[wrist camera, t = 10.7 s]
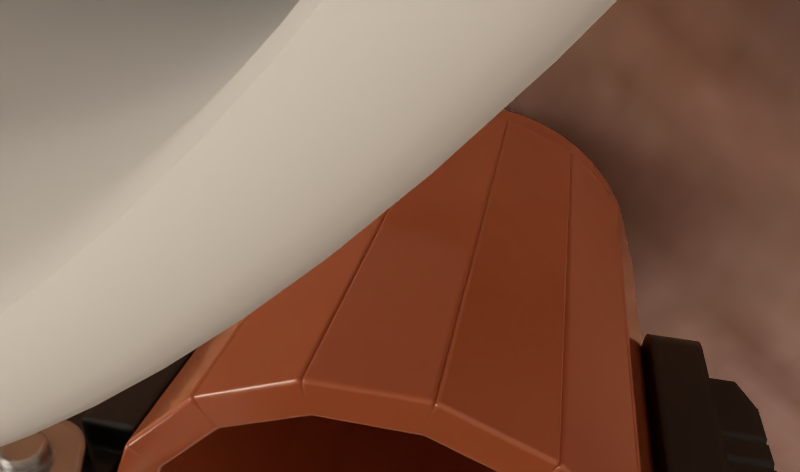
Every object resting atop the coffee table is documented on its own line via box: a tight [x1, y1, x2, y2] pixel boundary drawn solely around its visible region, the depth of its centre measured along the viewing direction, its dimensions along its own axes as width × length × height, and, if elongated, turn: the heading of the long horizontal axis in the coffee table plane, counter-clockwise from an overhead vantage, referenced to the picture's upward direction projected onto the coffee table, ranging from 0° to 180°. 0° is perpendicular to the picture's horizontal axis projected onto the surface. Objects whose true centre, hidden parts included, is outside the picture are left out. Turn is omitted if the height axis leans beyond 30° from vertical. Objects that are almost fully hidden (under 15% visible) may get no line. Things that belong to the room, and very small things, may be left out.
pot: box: [117, 110, 656, 472], centre depth 11 cm, size 6×6×8 cm
